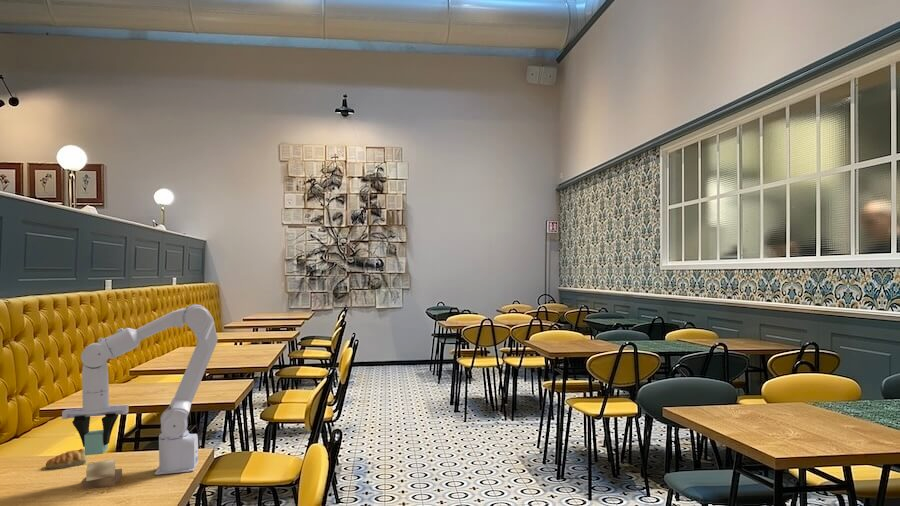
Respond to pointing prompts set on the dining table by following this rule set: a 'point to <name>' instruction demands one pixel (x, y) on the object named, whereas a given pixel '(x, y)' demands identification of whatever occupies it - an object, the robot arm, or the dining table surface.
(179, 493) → the dining table surface
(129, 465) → the dining table surface
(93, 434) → the teal block
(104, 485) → the tower base
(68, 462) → the pastry
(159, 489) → the dining table surface
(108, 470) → the tower top
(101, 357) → the robot arm
